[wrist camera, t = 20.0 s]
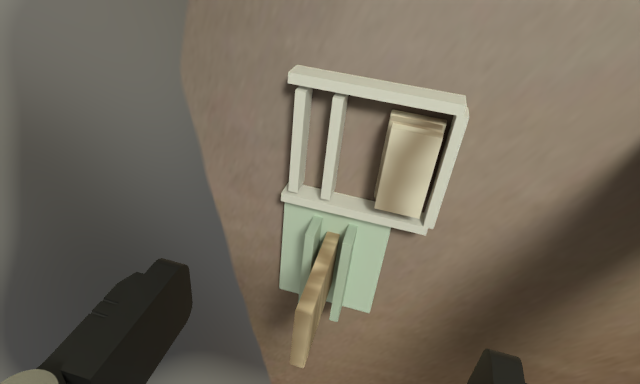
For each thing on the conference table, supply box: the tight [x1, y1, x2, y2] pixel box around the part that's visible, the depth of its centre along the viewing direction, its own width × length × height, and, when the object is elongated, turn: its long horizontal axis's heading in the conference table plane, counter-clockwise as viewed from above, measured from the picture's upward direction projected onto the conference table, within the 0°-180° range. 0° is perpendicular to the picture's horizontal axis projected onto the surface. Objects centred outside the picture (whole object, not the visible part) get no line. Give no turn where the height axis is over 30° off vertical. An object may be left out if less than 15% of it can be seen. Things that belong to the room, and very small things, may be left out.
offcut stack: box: [374, 109, 446, 219], centre depth 39 cm, size 5×9×4 cm, turn 174°
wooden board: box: [290, 231, 340, 368], centre depth 44 cm, size 2×8×12 cm, turn 174°
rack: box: [281, 65, 469, 236], centre depth 40 cm, size 16×14×2 cm
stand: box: [279, 202, 391, 322], centre depth 48 cm, size 12×14×4 cm
